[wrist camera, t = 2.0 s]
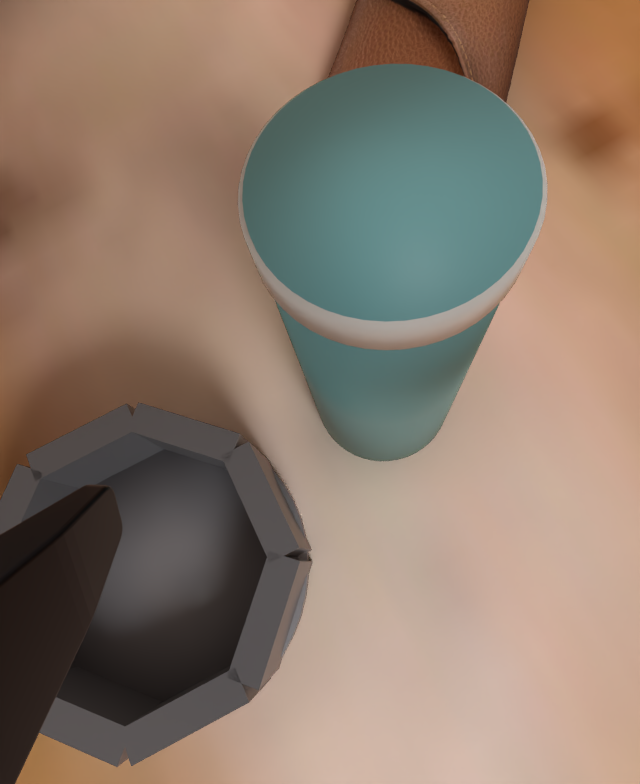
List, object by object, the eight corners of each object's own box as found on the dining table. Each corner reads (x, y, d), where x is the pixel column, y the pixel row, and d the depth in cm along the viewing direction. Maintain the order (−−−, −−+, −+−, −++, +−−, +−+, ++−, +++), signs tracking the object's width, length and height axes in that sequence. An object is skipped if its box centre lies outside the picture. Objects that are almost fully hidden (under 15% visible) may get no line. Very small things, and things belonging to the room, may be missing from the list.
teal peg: (476, 423, 21) (615, 230, 9) (354, 488, 21) (320, 382, 9) (408, 313, 23) (444, 16, 10) (293, 371, 23) (190, 139, 10)
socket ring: (360, 637, 19) (356, 652, 16) (86, 785, 19) (24, 833, 16) (237, 384, 23) (213, 353, 19) (-1, 506, 22) (-69, 496, 19)
